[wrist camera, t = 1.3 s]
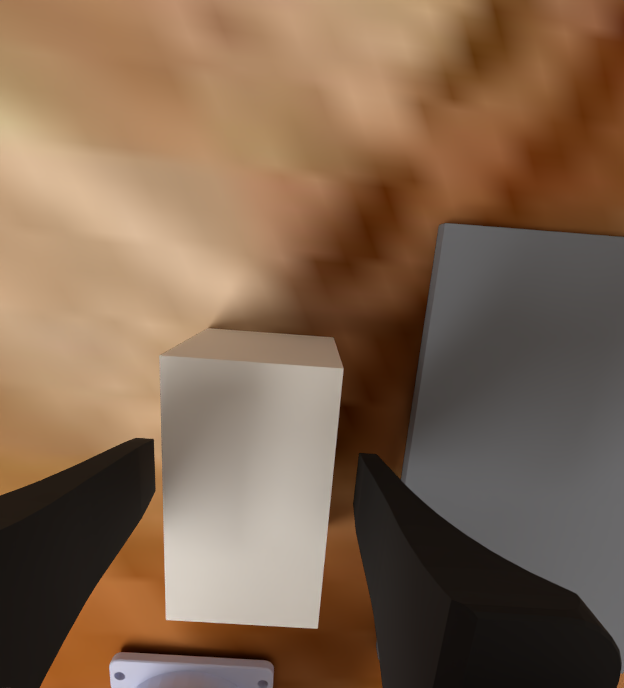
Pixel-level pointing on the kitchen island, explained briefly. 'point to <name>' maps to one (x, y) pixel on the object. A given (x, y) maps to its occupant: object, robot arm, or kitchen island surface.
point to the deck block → (248, 475)
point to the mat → (527, 404)
